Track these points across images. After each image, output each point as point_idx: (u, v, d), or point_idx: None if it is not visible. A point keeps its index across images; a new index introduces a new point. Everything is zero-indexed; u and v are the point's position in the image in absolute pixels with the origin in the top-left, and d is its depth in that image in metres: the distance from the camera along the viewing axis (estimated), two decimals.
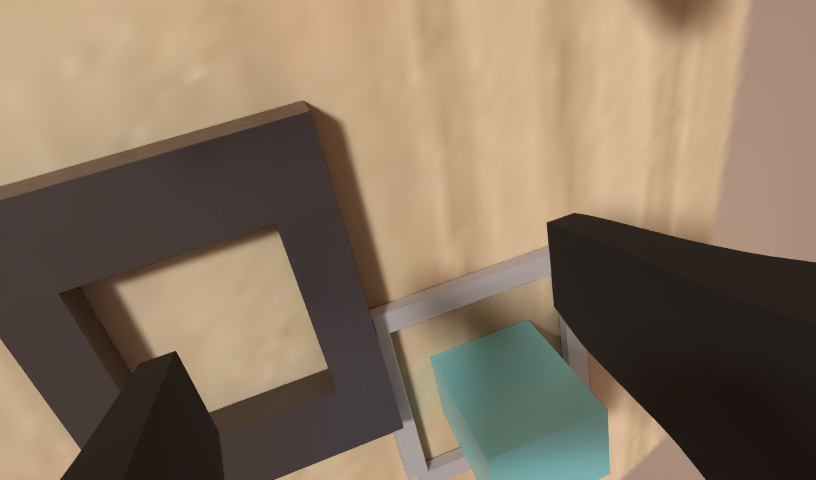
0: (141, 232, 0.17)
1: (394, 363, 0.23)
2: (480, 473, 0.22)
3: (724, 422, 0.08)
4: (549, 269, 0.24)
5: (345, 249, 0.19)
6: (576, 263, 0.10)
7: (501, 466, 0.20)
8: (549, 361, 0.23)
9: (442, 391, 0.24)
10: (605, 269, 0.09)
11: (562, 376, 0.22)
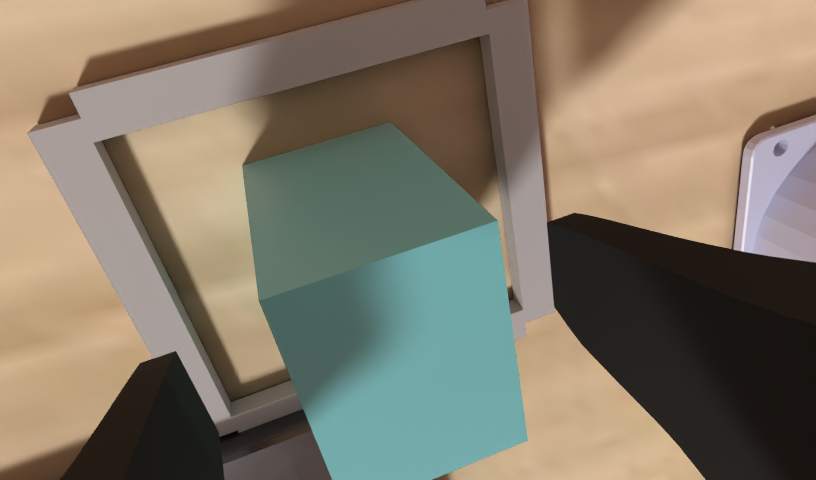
0: None
1: (290, 399, 0.15)
2: None
3: (724, 422, 0.08)
4: (92, 173, 0.11)
5: None
6: (576, 263, 0.10)
7: None
8: None
9: None
10: (605, 269, 0.09)
11: None
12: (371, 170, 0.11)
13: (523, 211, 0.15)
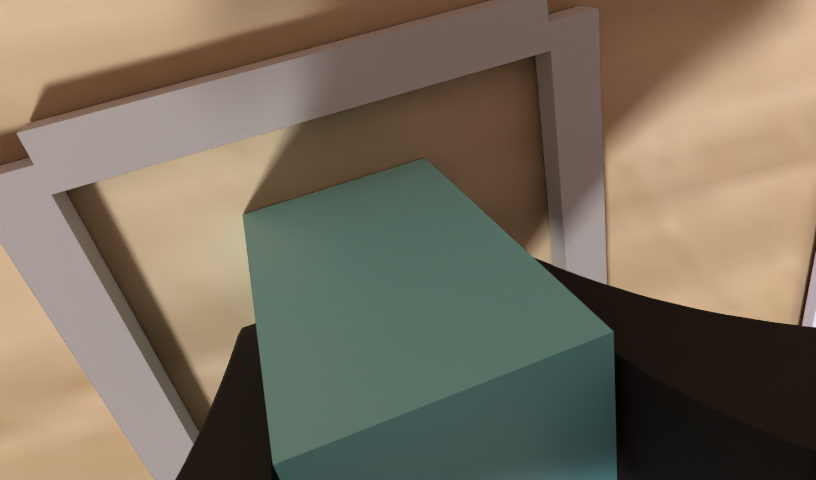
0: None
1: None
2: None
3: None
4: (51, 232, 0.09)
5: None
6: None
7: None
8: None
9: None
10: None
11: None
12: (411, 232, 0.08)
13: (580, 260, 0.12)
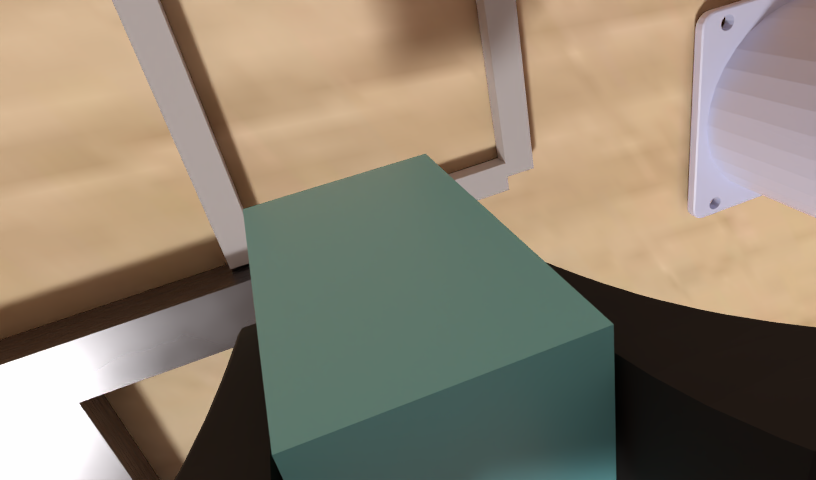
0: None
1: None
2: None
3: None
4: (146, 3, 0.14)
5: (106, 335, 0.16)
6: None
7: None
8: None
9: None
10: None
11: None
12: (411, 226, 0.08)
13: (503, 67, 0.17)
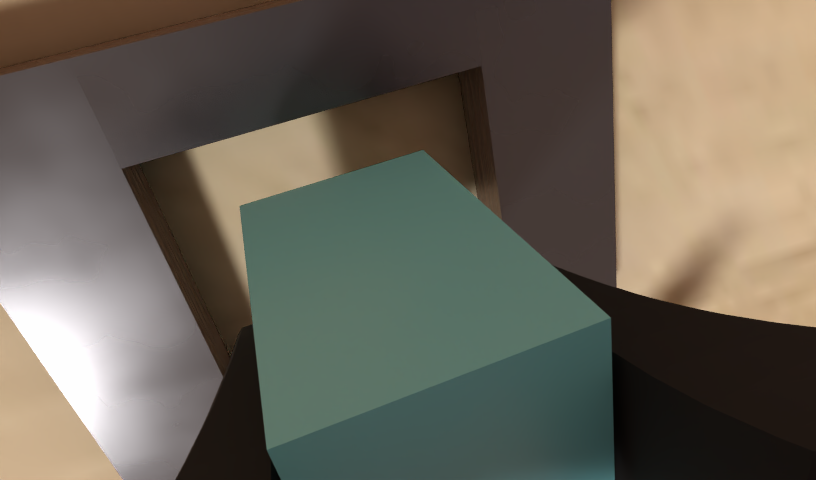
0: (148, 340, 0.13)
1: None
2: None
3: None
4: None
5: (170, 44, 0.10)
6: None
7: None
8: None
9: None
10: None
11: None
12: (410, 222, 0.08)
13: None
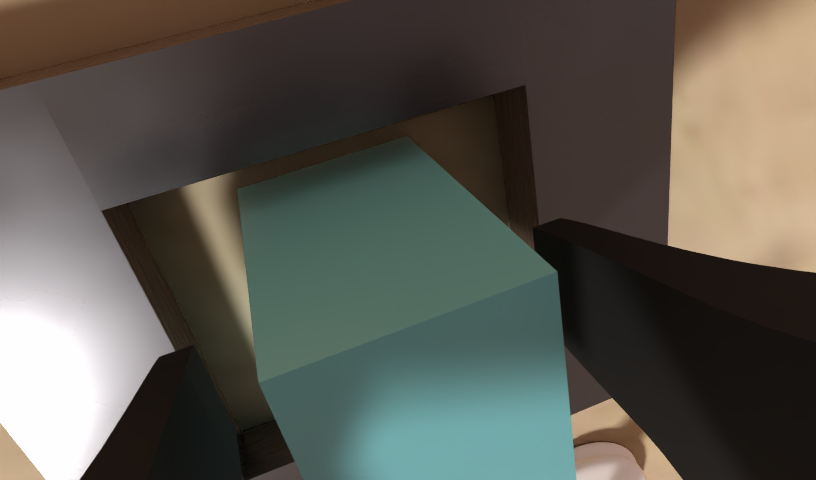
0: None
1: None
2: None
3: (705, 430, 0.08)
4: None
5: (158, 63, 0.08)
6: (561, 269, 0.10)
7: None
8: None
9: None
10: (589, 275, 0.09)
11: None
12: (390, 198, 0.09)
13: None
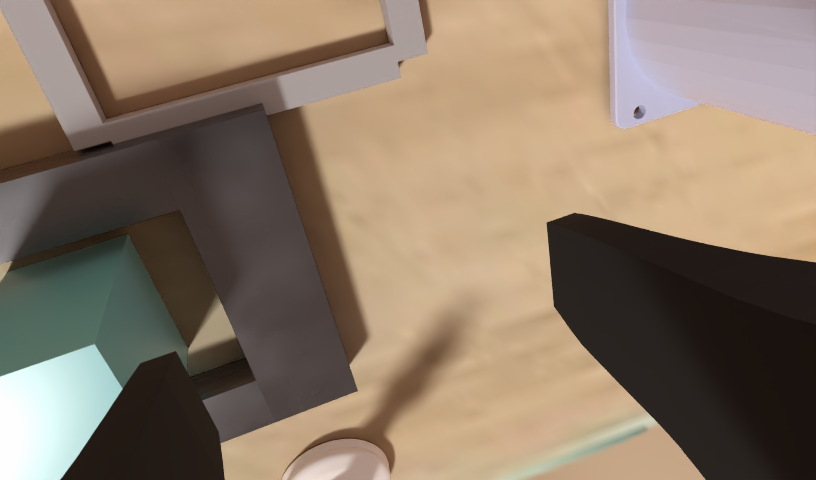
0: None
1: (162, 113, 0.16)
2: None
3: (724, 422, 0.08)
4: None
5: None
6: (576, 263, 0.10)
7: None
8: None
9: None
10: (605, 269, 0.09)
11: None
12: (73, 287, 0.15)
13: None
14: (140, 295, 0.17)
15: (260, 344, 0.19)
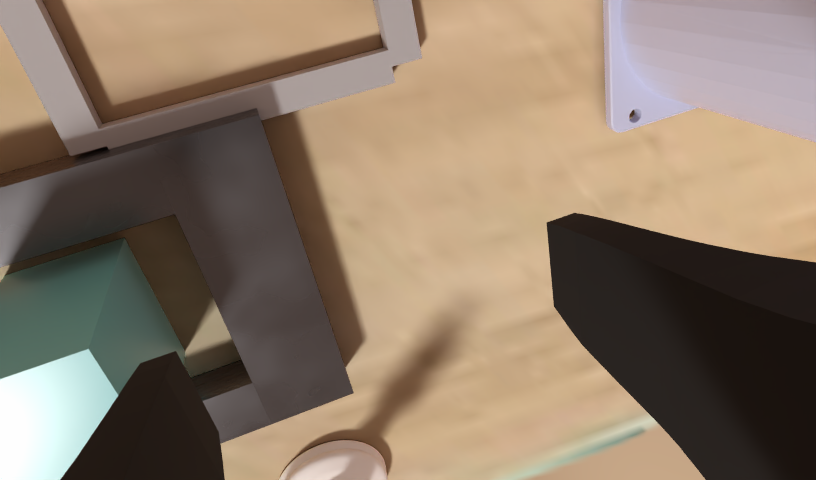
0: None
1: (157, 118, 0.16)
2: None
3: (724, 422, 0.08)
4: None
5: None
6: (576, 263, 0.10)
7: None
8: None
9: None
10: (605, 269, 0.09)
11: None
12: (69, 291, 0.15)
13: None
14: (136, 299, 0.17)
15: (256, 347, 0.19)
